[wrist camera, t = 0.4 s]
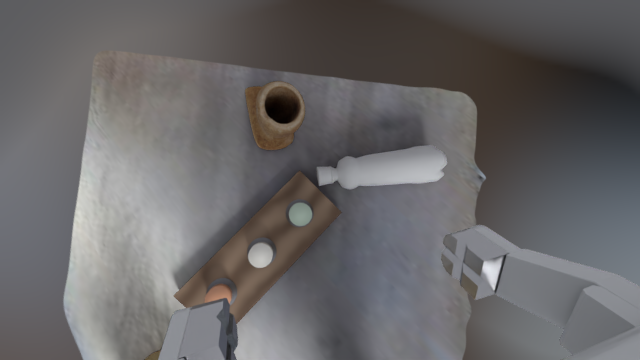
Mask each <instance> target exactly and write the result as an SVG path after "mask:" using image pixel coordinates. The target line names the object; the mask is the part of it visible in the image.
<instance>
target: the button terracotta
mask: <svg viewBox="0 0 640 360" xmlns="http://www.w3.org/2000/svg"><path fill="white" fill-rule="evenodd" d="M222 298H227V299H228V302H229V304H230V302H231V300H232V290H231V289H230V287H229V286H227V285H225V284H217V285H215V286H213V287H212V288H211V289H210V290H209V292H208V293H207V294H206V297H205V303H207V302H211V301H214V300H218V299H222Z"/></svg>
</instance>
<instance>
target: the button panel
mask: <svg viewBox="0 0 640 360" xmlns="http://www.w3.org/2000/svg"><path fill="white" fill-rule="evenodd" d="M296 203H305V204H307V205H308V206H309V207H310V208H311V211H312V218H311V220H310V222H309V223H308V224H306V225H304V226H297V225H295V224H293V223H292V222H291V220H290V218H289V210H290V208H291V207H292V206H293V205H294V204H296ZM341 213H342V212H341V211H340V210H339V209H338V208H337V207H336V206H335V205H334V204H333V203H332V202H331V201H330V200H329V199H328V198H327V197H326V196H325V195H324V194H323V193H322V192H321V191H320V190H319V189H318V188H317V187H316V186H315V185H314V184H313V183H312V182H311V181H310V180H309V179H308V178H307V177H306V176H305V175H304V174H303V173H302V172H301V171H300V170H299V171H298V172H297V173H296V174H295V175H294V176H293V177H292V178H291V179H290V180H289V181H288V182H287V183H286V184H285V185H284V186H283V187H282V188H281V189H280V190H279V191H278V192H277V193H276V194H275V195H274V196H273V197H272V198H271V199H270V200H269V201H268V202H267V203H266V204H265V205H264V206H263V207H262V208H261V209H260V210H259V211H258V212H257V213H256V214H255V215H254V216H253V217H252V218H251V219H250V220H249V221H248V222H247V223H246V224H245V225H244V226H243V227H242V228H241V229H240V230H239V231H238V232H237V233H236V234H235V235H234V236H233V237H232V238H231V239H230V240H229V241H228V242H227V243H226V244H225V245H224V246H223V247H222V248H221V249H220V250H219V251H218V252H217V253H216V254H215V255H214V256H213V257H212V258H211V259H210V260H209V261H208V262H207V263H206V264H205V265H204V266H203V267H202V268H201V269H200V270H199V271H198V272H197V273H196V274H195V275H194V276H193V277H192V278H191V279H190V280H189V281H188V282H187V283H186V284H185V285H184V286H183V287H182V288H181V289H180V290H179V291H178V292H177V293H176V294H175V295H174V297H175V298H176V299H177V300H178V301H179V302H180V303H181V304H183V305H184V306H185V307H186V308H189V307H193V306H195V305H199V304H203V303H205V297H206V294H207V293H208V292H209V290H210V289H211V288H212V287H213V286H215V285H217V284H225V285H227V286H229V287H230V289H231V290H232V300H231V302H230V312H229V313H231V314H233V315H234V317H235V321H236V324H237V323H238V322H239V321H240V320H241V319H242V318H243V317H244V316H245V314H246V313H247V312H248V311H249V310H250V309H251V308H252V307H253V306H254V305H255V304H256V303H257V302H258V301H259V300H260V299H261V297H262V296H263V295H264V294H265V293H266V292H267V291H268V290H269V289H270V288H271V287H272V286H273V285H274V284H275V283H276V282H277V280H278V279H279V278H280V277H281V276H282V275H283V274H284V273H285V272H286V271H287V270H288V269H289V268H290V267H291V266H292V265H293V264H294V262H295V261H296V260H297V259H298V258H299V257H300V256H301V255H302V254H303V253H304V252H305V251H306V250H307V249H308V248H309V247H310V245H311V244H312V243H313V242H314V241H315V240H316V239H317V238H318V237H319V236H320V235H321V234H322V233H323V232H324V231H325V230H326V228H327V227H328V226H329V225H330V224H331V223H332V222H333V221H334V220H335V219H336V218H337V217H338V216H339V215H340V214H341ZM258 242H265V243H268V244H269V245H270V246H271V247H272V250H273V257H272V260H271V262H270V263H269V264H268V265H267V266H266V267H263V268H257V267H254V266H253V265H251V263H250V262H249V259H248V254H249V251H250V249H251V248H252V246H253V245H254V244H256V243H258Z"/></svg>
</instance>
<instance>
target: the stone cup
mask: <svg viewBox="0 0 640 360" xmlns="http://www.w3.org/2000/svg"><path fill="white" fill-rule="evenodd" d="M245 94H246V102H247V108H248V112H249V118H250V123H251V127H252V132H253V136H254V139H255V141H256V143H257V145H258V147H260V148H262V149H265V150H278V149H282V148H285V147H287V146H288V145H289V144H291V143H292V142H293V138H294V132H295V131H296V130H297V129H298V128H299V127H300V126H301V124H302V122H303V119H304V116H305V105H304V100H303V98H302V96H301V94H300V93H299V92H298V90H297V89H296V88H295V87H294V86H292V85H291V84H289V83H286V82H282V81H274V82H270V83H268V84H266V85H264V86H263V87H260V86H257V87H248V88H247V89H246V90H245Z"/></svg>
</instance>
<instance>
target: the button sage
mask: <svg viewBox="0 0 640 360" xmlns="http://www.w3.org/2000/svg"><path fill="white" fill-rule="evenodd" d="M289 218H290V220H291V222H292V223H293V224H295V225H297V226H304V225H306V224H308V223H309V222H310V220H311V218H312V211H311V208H310V207H309V206H308V205H307V204H305V203H296V204H294V205H293V206H292V207H291V208H290V210H289Z"/></svg>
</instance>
